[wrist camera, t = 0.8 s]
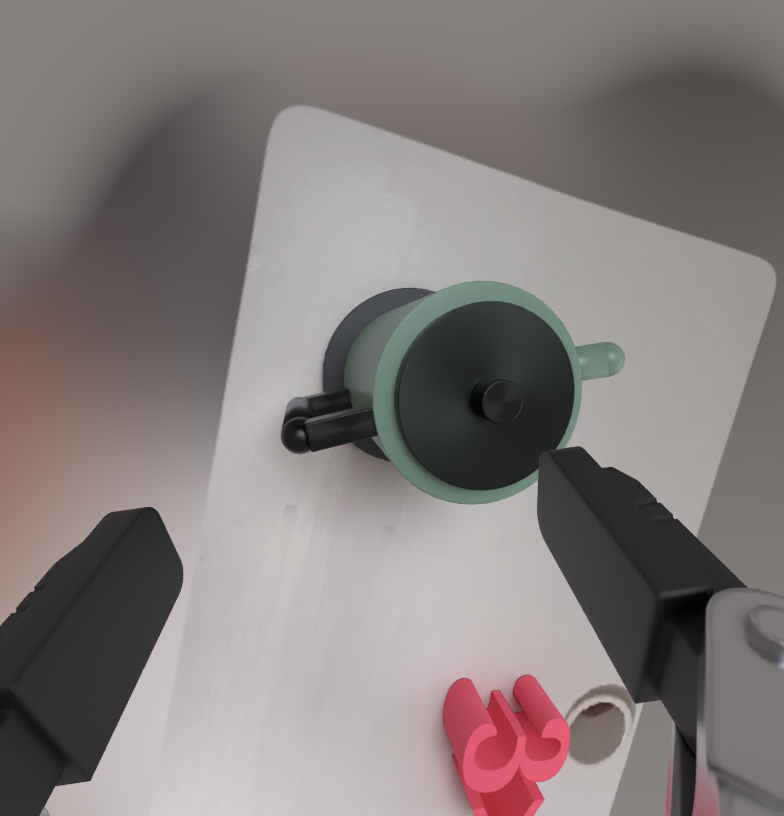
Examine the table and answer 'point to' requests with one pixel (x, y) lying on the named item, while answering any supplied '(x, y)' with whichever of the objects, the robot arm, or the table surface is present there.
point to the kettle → (458, 391)
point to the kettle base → (348, 334)
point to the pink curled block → (505, 746)
